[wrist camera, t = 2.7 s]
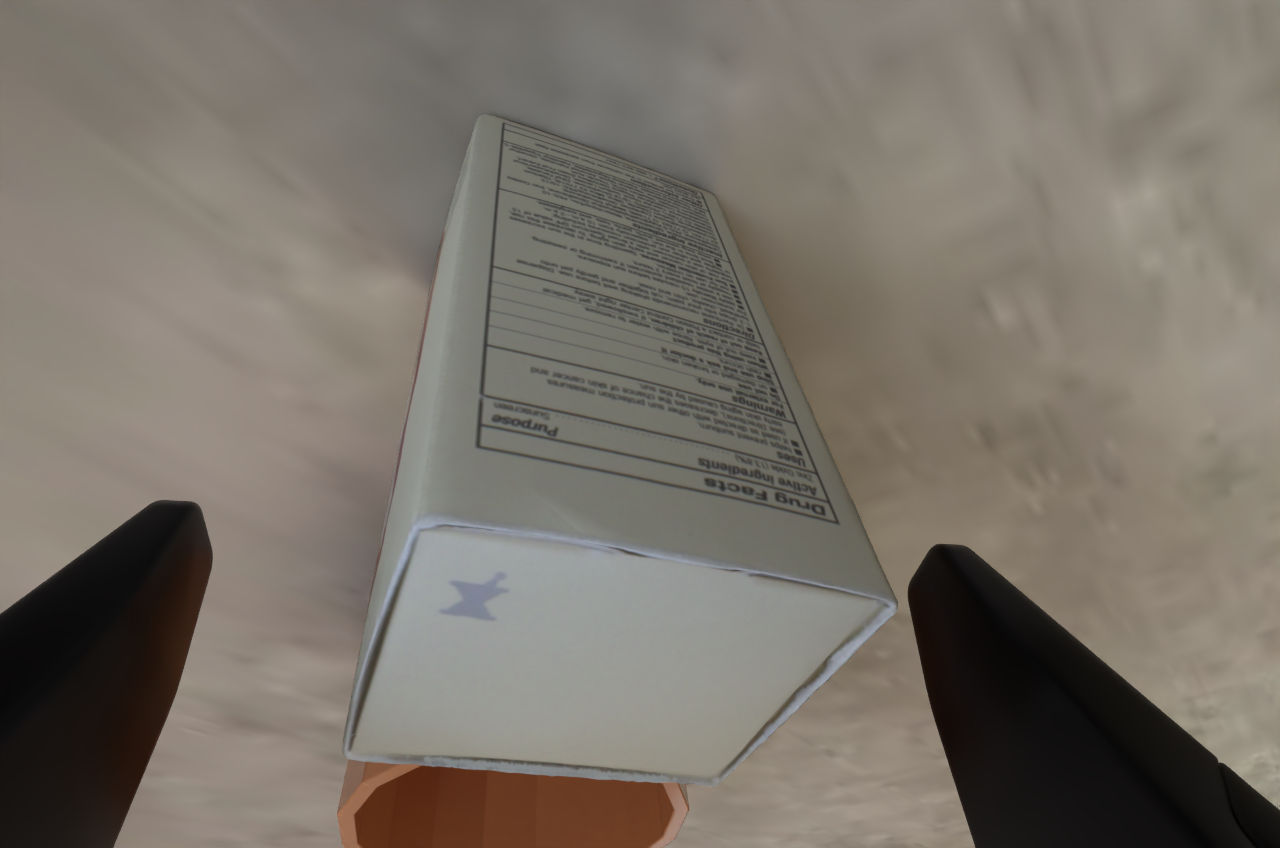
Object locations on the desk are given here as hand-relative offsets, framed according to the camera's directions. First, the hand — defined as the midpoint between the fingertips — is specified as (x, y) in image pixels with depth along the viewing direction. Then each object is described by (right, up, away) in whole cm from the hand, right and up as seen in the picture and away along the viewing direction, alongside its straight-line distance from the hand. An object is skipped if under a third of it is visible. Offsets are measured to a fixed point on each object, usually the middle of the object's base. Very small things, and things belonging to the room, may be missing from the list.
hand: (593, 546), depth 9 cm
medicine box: (-1, +5, +6) cm, 8 cm away
